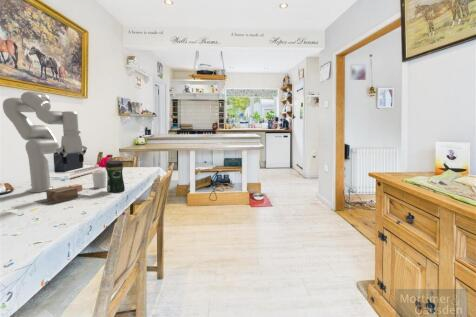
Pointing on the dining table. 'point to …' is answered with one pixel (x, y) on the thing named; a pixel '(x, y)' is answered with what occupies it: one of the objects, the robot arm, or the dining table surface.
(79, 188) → the terracotta cube
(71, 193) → the walnut base block
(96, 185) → the white cup
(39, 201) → the charcoal board
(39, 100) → the robot arm
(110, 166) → the coffee jar
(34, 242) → the dining table surface
